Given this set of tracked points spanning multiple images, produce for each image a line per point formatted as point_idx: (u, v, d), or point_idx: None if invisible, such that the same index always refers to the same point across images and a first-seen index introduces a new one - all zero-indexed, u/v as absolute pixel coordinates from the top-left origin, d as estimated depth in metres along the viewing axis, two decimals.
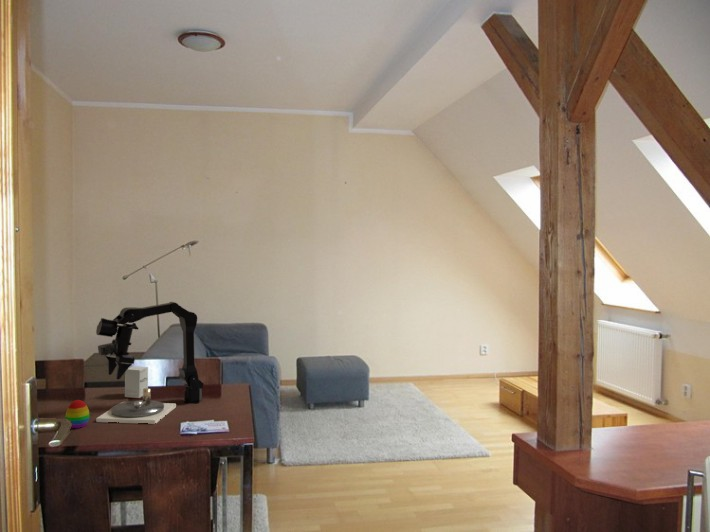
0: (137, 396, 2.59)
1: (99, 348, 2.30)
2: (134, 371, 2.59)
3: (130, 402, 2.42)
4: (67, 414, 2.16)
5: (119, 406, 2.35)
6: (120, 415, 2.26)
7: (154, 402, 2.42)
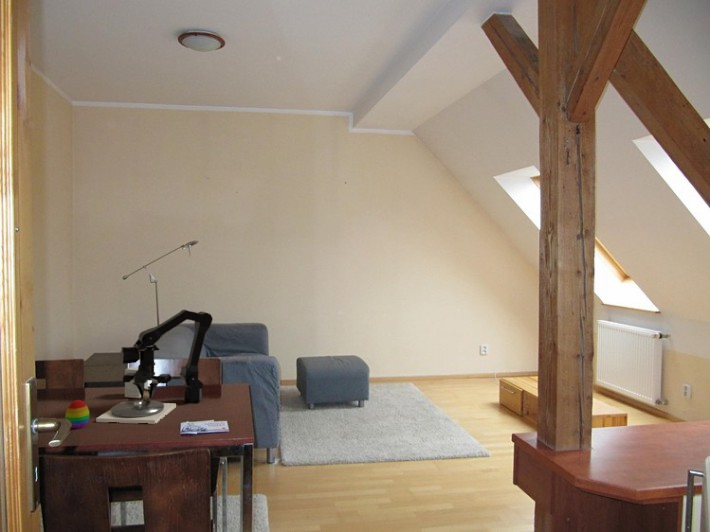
0: (137, 396, 2.59)
1: (139, 378, 2.36)
2: (134, 371, 2.59)
3: (130, 402, 2.42)
4: (67, 414, 2.16)
5: (119, 406, 2.35)
6: (120, 415, 2.26)
7: (154, 402, 2.42)
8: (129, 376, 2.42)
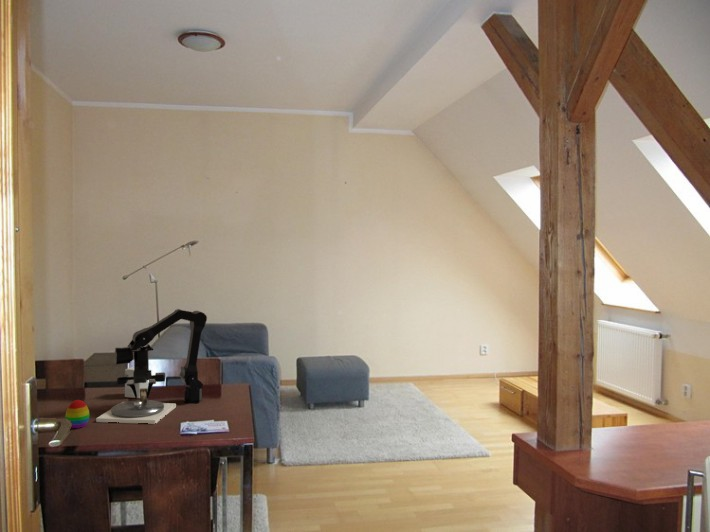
0: (137, 396, 2.59)
1: (140, 378, 2.36)
2: None
3: (127, 403, 2.41)
4: (67, 414, 2.16)
5: (118, 407, 2.34)
6: (123, 415, 2.26)
7: (152, 401, 2.43)
8: (124, 378, 2.39)
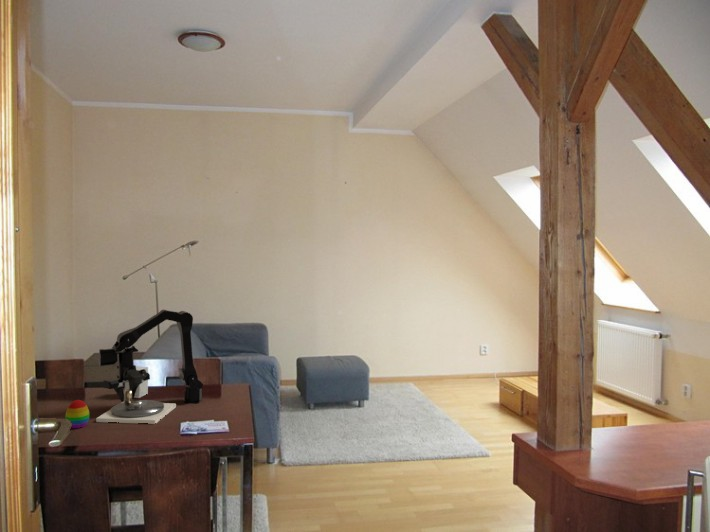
0: (137, 396, 2.59)
1: (139, 377, 2.36)
2: None
3: (118, 406, 2.36)
4: (67, 414, 2.16)
5: (120, 410, 2.30)
6: (141, 415, 2.27)
7: None
8: (116, 381, 2.34)
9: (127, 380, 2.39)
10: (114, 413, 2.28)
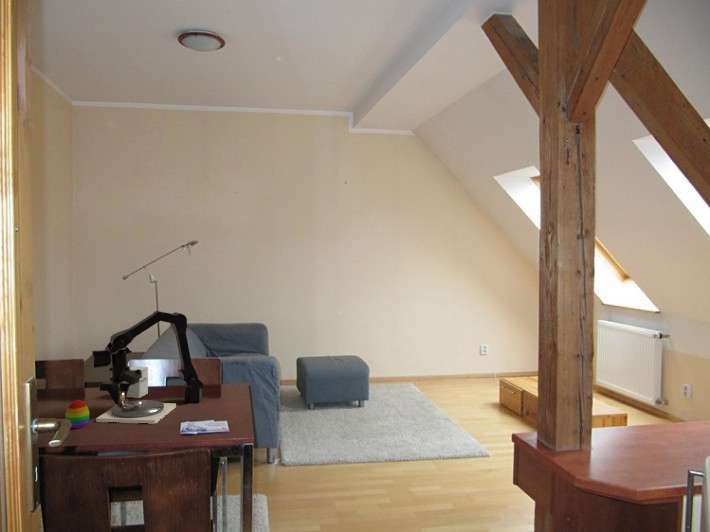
0: (137, 396, 2.59)
1: (138, 377, 2.36)
2: (134, 371, 2.59)
3: (116, 408, 2.33)
4: (67, 414, 2.16)
5: (125, 411, 2.29)
6: (151, 413, 2.29)
7: (131, 402, 2.42)
8: (115, 383, 2.31)
9: (122, 381, 2.36)
10: (121, 415, 2.26)
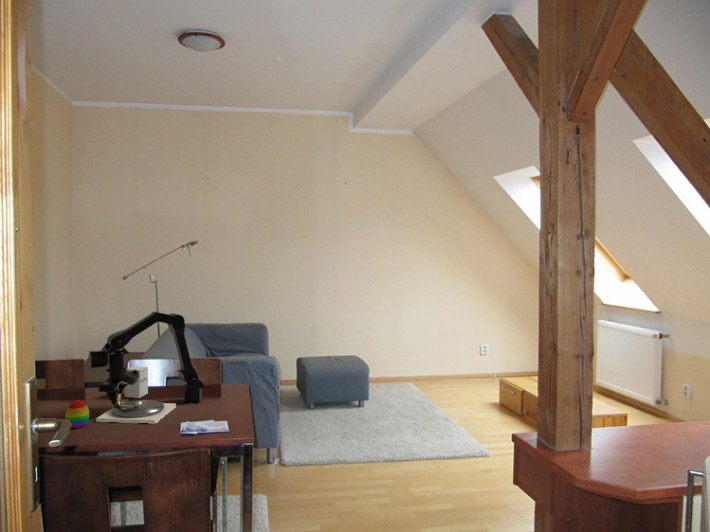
0: (137, 396, 2.59)
1: (136, 378, 2.35)
2: None
3: (117, 410, 2.30)
4: (67, 414, 2.16)
5: (130, 412, 2.28)
6: (157, 411, 2.32)
7: (125, 403, 2.40)
8: (115, 384, 2.29)
9: (119, 382, 2.35)
10: (128, 415, 2.26)
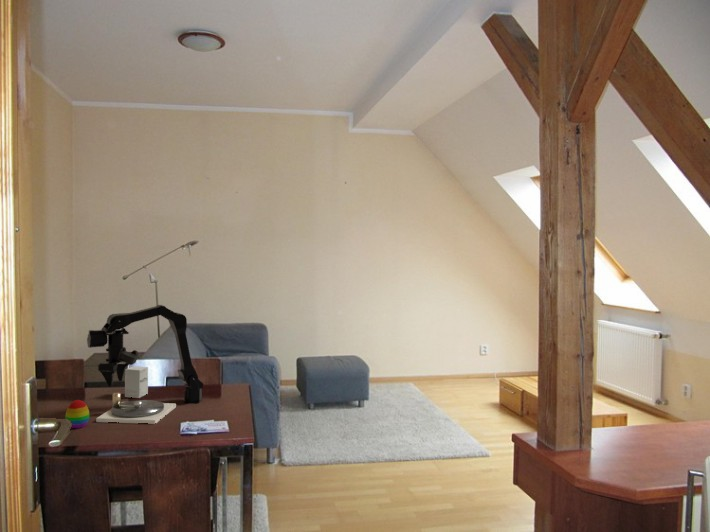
0: (137, 396, 2.59)
1: (136, 358, 2.36)
2: (134, 371, 2.59)
3: (117, 410, 2.30)
4: (67, 414, 2.16)
5: (130, 412, 2.28)
6: (157, 411, 2.32)
7: (125, 403, 2.40)
8: (114, 363, 2.29)
9: (119, 362, 2.35)
10: (128, 415, 2.26)
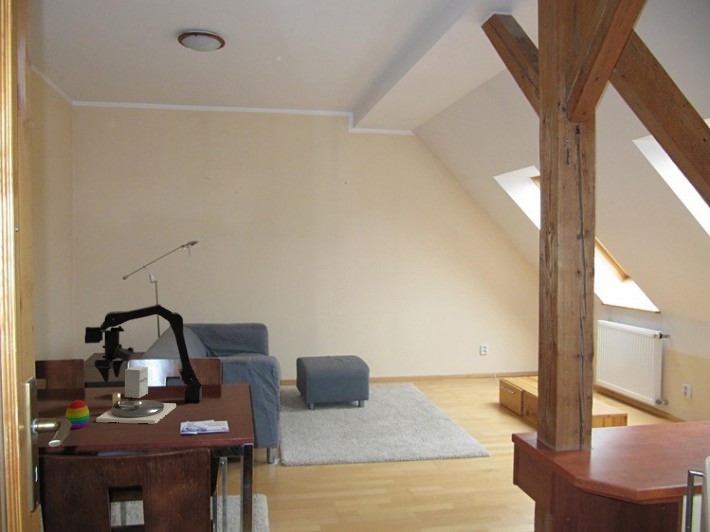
0: (137, 396, 2.59)
1: (131, 354, 2.42)
2: (134, 371, 2.59)
3: (117, 410, 2.30)
4: (67, 414, 2.16)
5: (130, 412, 2.28)
6: (157, 411, 2.32)
7: (125, 403, 2.40)
8: (111, 359, 2.36)
9: (115, 359, 2.41)
10: (128, 415, 2.26)
